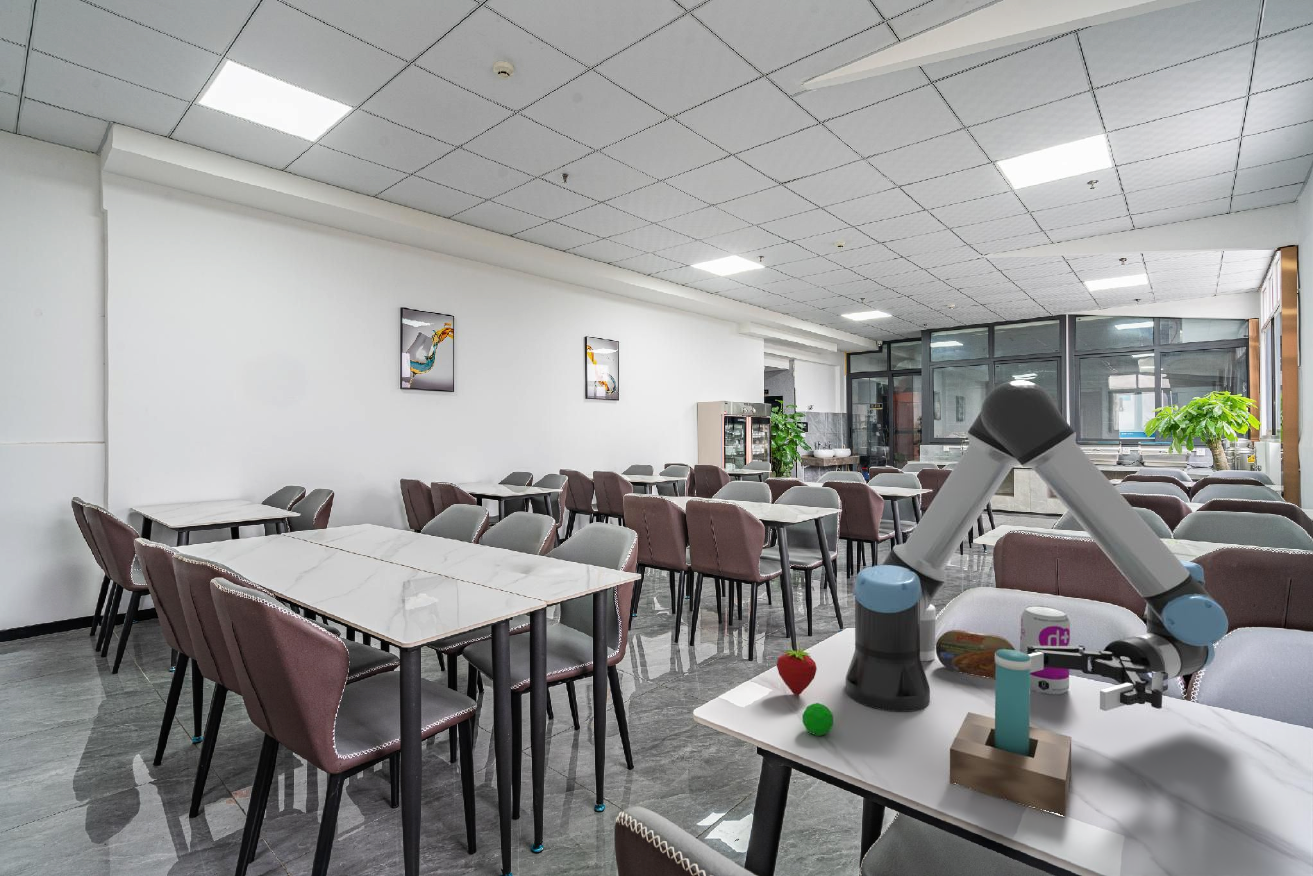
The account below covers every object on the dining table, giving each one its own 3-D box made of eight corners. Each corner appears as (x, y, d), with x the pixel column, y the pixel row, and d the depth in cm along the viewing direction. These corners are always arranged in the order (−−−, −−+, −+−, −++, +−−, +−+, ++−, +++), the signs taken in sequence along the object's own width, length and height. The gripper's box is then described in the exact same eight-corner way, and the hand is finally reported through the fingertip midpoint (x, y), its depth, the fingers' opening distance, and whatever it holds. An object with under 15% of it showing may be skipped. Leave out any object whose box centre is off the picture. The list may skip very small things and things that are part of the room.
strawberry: (780, 685, 126) (780, 635, 125) (819, 691, 123) (819, 640, 122) (773, 697, 120) (773, 644, 120) (813, 704, 117) (814, 650, 117)
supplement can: (1078, 696, 120) (1079, 617, 119) (1031, 695, 121) (1033, 616, 120) (1055, 678, 128) (1056, 605, 128) (1012, 677, 129) (1013, 604, 128)
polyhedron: (797, 733, 106) (797, 705, 106) (811, 723, 110) (811, 696, 110) (824, 744, 103) (824, 714, 103) (838, 732, 107) (838, 704, 107)
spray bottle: (920, 664, 136) (921, 580, 136) (895, 653, 142) (895, 573, 142) (942, 658, 139) (942, 576, 139) (916, 648, 146) (916, 570, 145)
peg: (991, 778, 93) (992, 656, 92) (996, 764, 97) (997, 646, 96) (1027, 788, 90) (1029, 663, 90) (1031, 774, 94) (1032, 653, 93)
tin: (935, 668, 134) (935, 628, 134) (937, 663, 137) (937, 624, 137) (1017, 683, 126) (1017, 641, 126) (1018, 678, 129) (1018, 636, 129)
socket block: (949, 782, 92) (949, 748, 92) (967, 742, 103) (968, 712, 103) (1064, 817, 84) (1065, 780, 84) (1070, 769, 95) (1071, 736, 95)
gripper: (1231, 714, 95) (1146, 745, 86) (1064, 657, 117) (983, 677, 109) (1232, 664, 94) (1147, 690, 86) (1065, 617, 117) (984, 633, 108)
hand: (1055, 682), depth 97 cm, fingers open, 13 cm apart
